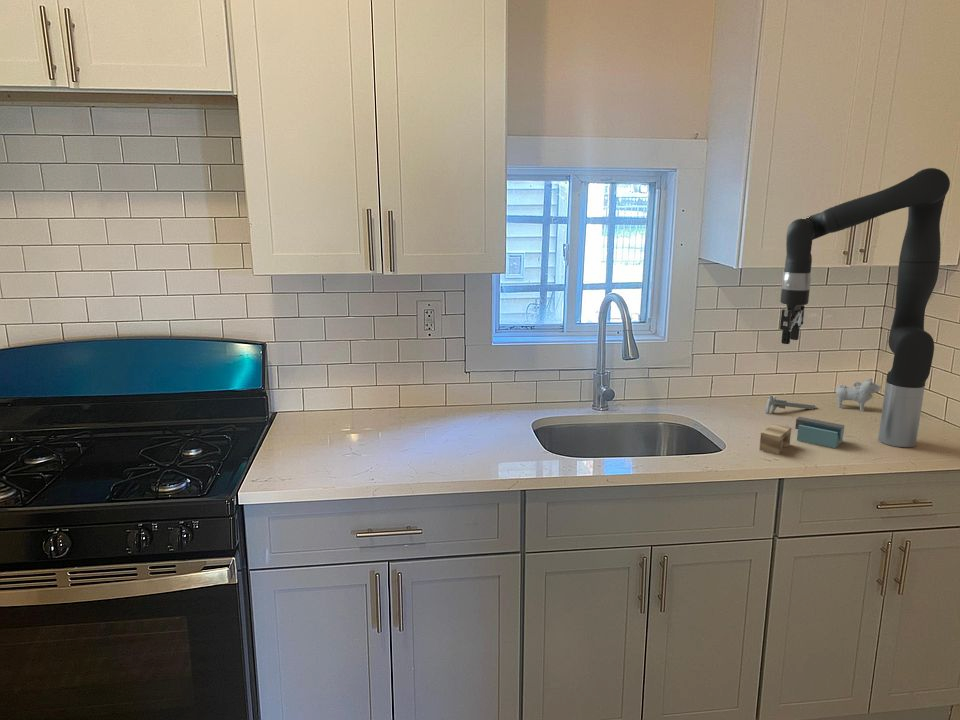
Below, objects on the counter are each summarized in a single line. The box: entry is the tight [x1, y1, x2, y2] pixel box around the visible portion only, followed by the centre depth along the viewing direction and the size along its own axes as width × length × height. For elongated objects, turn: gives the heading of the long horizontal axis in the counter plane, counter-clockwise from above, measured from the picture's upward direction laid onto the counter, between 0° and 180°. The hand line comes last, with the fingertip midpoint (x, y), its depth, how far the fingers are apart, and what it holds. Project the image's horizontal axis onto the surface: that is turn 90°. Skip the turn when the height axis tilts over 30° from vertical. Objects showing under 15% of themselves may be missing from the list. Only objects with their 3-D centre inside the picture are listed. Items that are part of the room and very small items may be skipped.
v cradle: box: [796, 425, 844, 449], centre depth 191 cm, size 8×10×4 cm
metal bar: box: [794, 416, 845, 438], centre depth 191 cm, size 3×12×3 cm, turn 48°
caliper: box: [765, 394, 819, 414], centre depth 219 cm, size 20×1×6 cm, turn 108°
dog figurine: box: [835, 378, 882, 413], centre depth 221 cm, size 5×13×11 cm, turn 60°
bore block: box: [759, 423, 792, 455], centre depth 185 cm, size 10×5×5 cm, turn 139°
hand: (789, 341), depth 200 cm, fingers open, 8 cm apart
